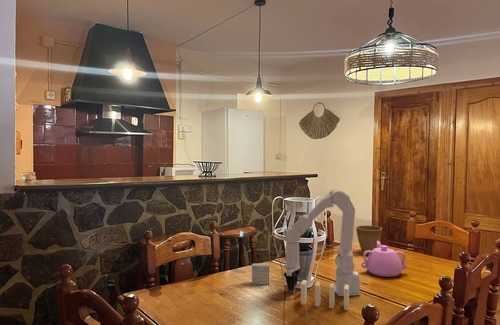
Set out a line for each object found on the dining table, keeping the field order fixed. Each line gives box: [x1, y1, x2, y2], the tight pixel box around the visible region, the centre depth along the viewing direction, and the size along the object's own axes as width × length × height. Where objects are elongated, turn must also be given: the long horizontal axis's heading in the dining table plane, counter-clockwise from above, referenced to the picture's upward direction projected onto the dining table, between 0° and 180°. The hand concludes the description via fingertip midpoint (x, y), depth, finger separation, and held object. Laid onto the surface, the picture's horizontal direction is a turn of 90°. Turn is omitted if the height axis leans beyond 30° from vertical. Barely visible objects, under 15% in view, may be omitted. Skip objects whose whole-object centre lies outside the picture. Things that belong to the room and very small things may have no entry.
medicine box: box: [251, 262, 270, 286], centre depth 166 cm, size 8×4×9 cm, turn 92°
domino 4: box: [328, 282, 336, 309], centre depth 141 cm, size 2×5×8 cm, turn 162°
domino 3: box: [314, 281, 322, 307], centre depth 142 cm, size 2×5×8 cm, turn 162°
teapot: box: [361, 240, 408, 278], centre depth 182 cm, size 22×22×14 cm
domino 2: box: [300, 279, 308, 306], centre depth 144 cm, size 2×5×8 cm, turn 161°
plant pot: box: [355, 225, 383, 257], centre depth 216 cm, size 15×15×16 cm
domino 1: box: [288, 272, 296, 295], centre depth 155 cm, size 2×5×8 cm, turn 161°
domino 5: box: [343, 285, 350, 311], centre depth 139 cm, size 2×5×8 cm, turn 162°
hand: (292, 287), depth 155 cm, fingers open, 5 cm apart
